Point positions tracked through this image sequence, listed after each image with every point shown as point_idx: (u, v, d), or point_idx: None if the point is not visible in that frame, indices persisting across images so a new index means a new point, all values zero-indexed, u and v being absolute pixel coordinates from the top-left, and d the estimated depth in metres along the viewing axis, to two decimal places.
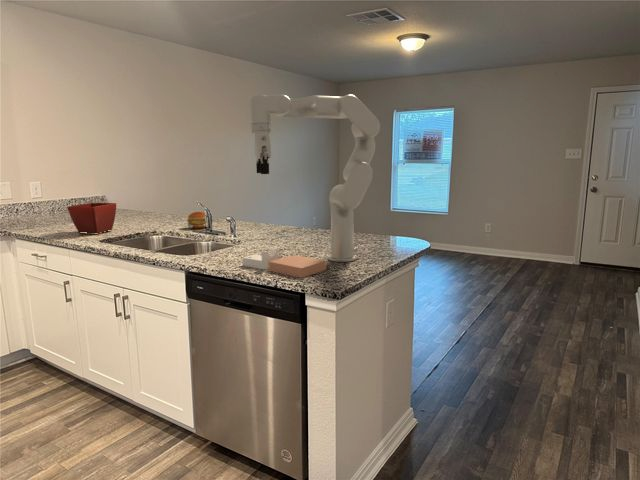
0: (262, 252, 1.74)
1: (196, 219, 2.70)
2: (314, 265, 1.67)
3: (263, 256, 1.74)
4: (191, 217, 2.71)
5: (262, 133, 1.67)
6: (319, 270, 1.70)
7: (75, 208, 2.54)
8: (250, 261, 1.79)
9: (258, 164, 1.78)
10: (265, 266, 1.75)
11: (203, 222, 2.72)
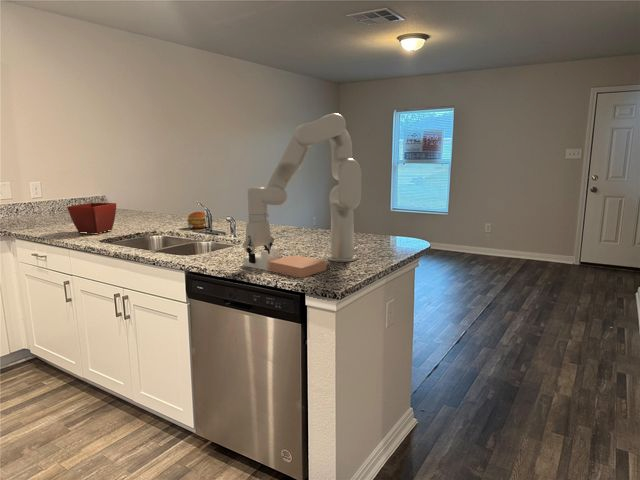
0: (262, 252, 1.74)
1: (196, 219, 2.70)
2: (314, 265, 1.67)
3: (263, 256, 1.74)
4: (191, 217, 2.71)
5: None
6: (319, 270, 1.70)
7: (75, 208, 2.54)
8: None
9: None
10: (265, 266, 1.74)
11: (203, 222, 2.72)
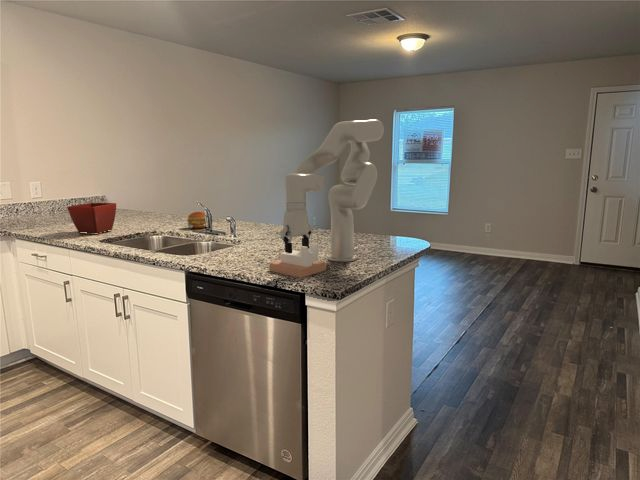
0: (301, 248, 1.65)
1: (196, 219, 2.70)
2: (314, 266, 1.67)
3: (302, 252, 1.65)
4: (191, 217, 2.71)
5: None
6: (319, 271, 1.70)
7: (75, 208, 2.54)
8: (288, 257, 1.70)
9: None
10: (304, 262, 1.65)
11: (203, 222, 2.72)
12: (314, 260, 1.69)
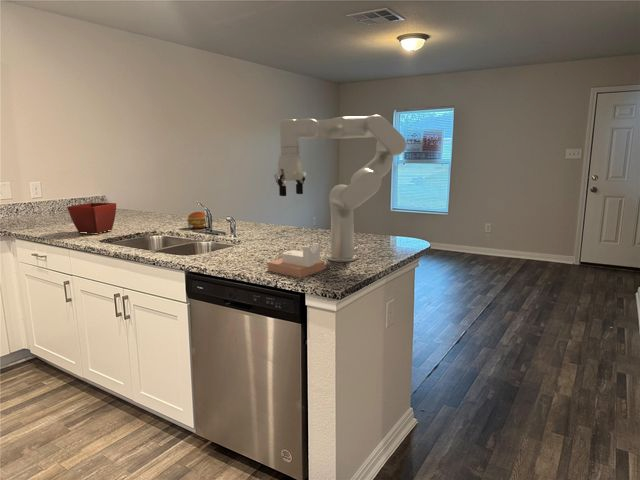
0: (304, 248, 1.65)
1: (196, 219, 2.70)
2: (312, 266, 1.68)
3: (305, 252, 1.65)
4: (191, 217, 2.71)
5: None
6: (317, 271, 1.70)
7: (75, 208, 2.54)
8: (290, 257, 1.69)
9: None
10: (307, 262, 1.65)
11: (203, 222, 2.72)
12: (316, 260, 1.68)
